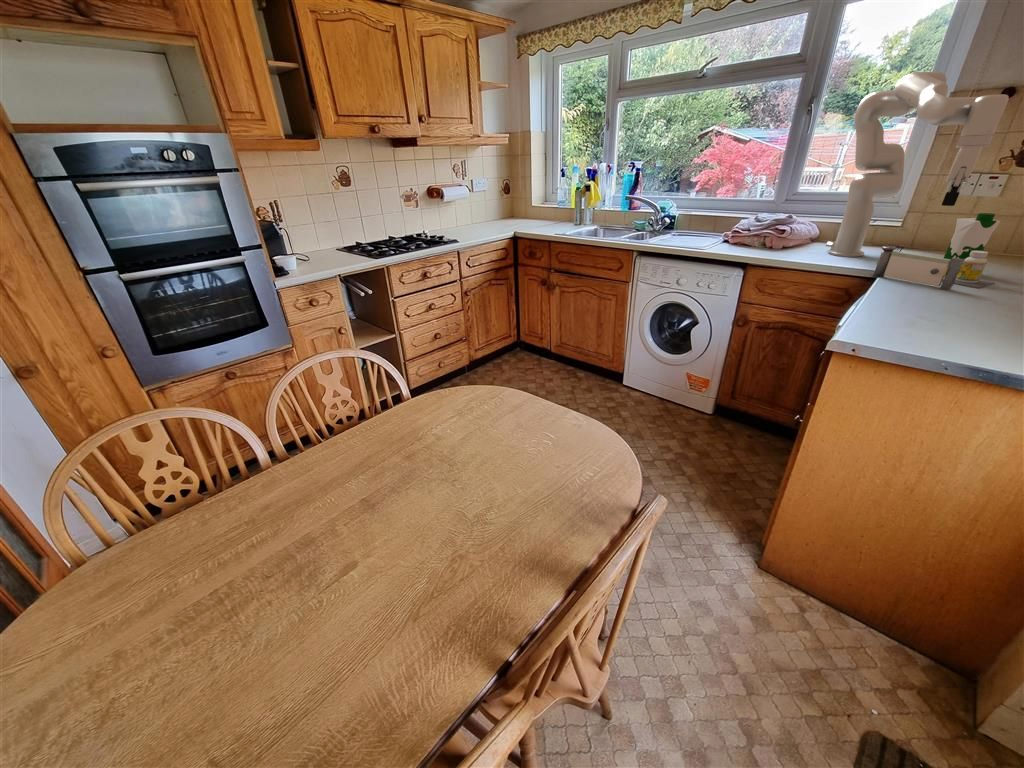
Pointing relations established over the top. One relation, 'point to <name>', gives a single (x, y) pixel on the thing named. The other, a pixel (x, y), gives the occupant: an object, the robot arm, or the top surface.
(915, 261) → the gate
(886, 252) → the hinge post
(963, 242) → the milk carton
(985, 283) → the mat
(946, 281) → the post
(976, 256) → the supplement bottle
